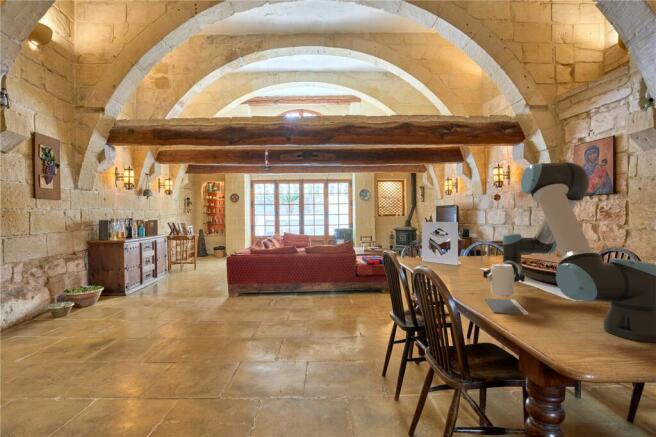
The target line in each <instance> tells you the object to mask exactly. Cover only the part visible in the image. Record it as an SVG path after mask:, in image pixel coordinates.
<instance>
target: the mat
mask: <svg viewBox="0 0 656 437" xmlns="http://www.w3.org/2000/svg"><path fill="white" fill-rule="evenodd" d="M484 301H485V302H486V304H487V305H488V306H489V308H490V310H491V311H492V312H493V314H504V315H517V316H529V312H528V311H527V310H526V309H525V308H524V307H523V306H522V305H521V304H520V303H519V302H518V301H517V300H516V299H505V298H504V299H503V298H484Z"/></svg>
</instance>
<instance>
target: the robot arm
mask: <svg viewBox="0 0 656 437" xmlns="http://www.w3.org/2000/svg"><path fill="white" fill-rule="evenodd" d="M520 188H521V191H522V193H523V194H526V195H531V197H532V200H533V201H534V202H535V203H537V204H539V205H540V207H541V210H542V212H543V215H544V218H543V219H542V222H541V224H540V226H539V227H538V229H537V231H536V233H535V235H534V237H522V234H521V233H504V234H503V238H502V264H510V265H512V267H513V270H514V275H513V276H512V277H511V285H513V284H514V285H515V283H516V282H522V283H523V282H525V278H526V271H524V270H523V263H522V255H528V254H529V255H531V254H534V255H535V254H537V255H540V254H541V255H546V254H553V253H555V251H556V250H558V252H559V254H560V257H561V259H560V260H559V262H558V266H557V268H556V269H555V281H556V284H557V286H558V287H559V288H558V289H559V290H560V291H561V292H562V294H563V295H564V296H566V297H567V298H569V299H571V300H574V301H582V302H594V301H595V302H596V301H597V302H601V301H603V302H607V301H609V303H610V304H609V308H608V311H607V313H606V315H605V316H604V317H605V318H604V319H603V323H602V327H603V330H604V331H605V332H607V333H609V334H612V335H615V336H617V337H621V338H623V339H629V340H633V341H640V342H648V343H656V264H655V263H653V262H652V263H651V262H646V261H641V260H633V259H625V258H618V257H617V258H615V257H613V258H612V257H611V258H609V259H610V260H609V261H608V262H607V263H605V262H604V259H603V258H602V255H601V254H600V253H598V252H595V251H593V250H592V247H591V245H590V243H589V241H588V239H587V237H586V234H585V233H584V231H583V228H582V226H581V224H580V222H579V220H578V218H577V216H576V214H575V211H574V209H575V207H576V205H577V204H578V202H580V201H582V200H583V199H584V198H585V196H586V195H587V193H588V190H589V188H590V177H589V174H588V172H587V171H586V169H585V168H584V167H583V166H581V165H579V164H578V163H574V162H548V163H547V162H538V163H531V164H528V165H527V166H526V167H525V168H524V170H523V172H522V175H521V179H520ZM522 270H523V271H522ZM482 272H483V275H482V276H483V279H486V280H487V281H486V282H487V283H491V267H490V268H488V269H487V270H484V271H482Z"/></svg>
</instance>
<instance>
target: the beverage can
mask: <svg viewBox="0 0 656 437" xmlns="http://www.w3.org/2000/svg"><path fill="white" fill-rule="evenodd" d="M490 268H491V281H490V292H491V294H493V295H495V296H498V297H506V298H507V297H510V296H513V295H514V292H515V291H514V285H515V283H514V284H513V285H511V277H512V276H513V275H514V270H513V267H512V265H510V264H503V262H502V263H501V262H500V263H499V262H498V263H492V264H491V266H490Z"/></svg>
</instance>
